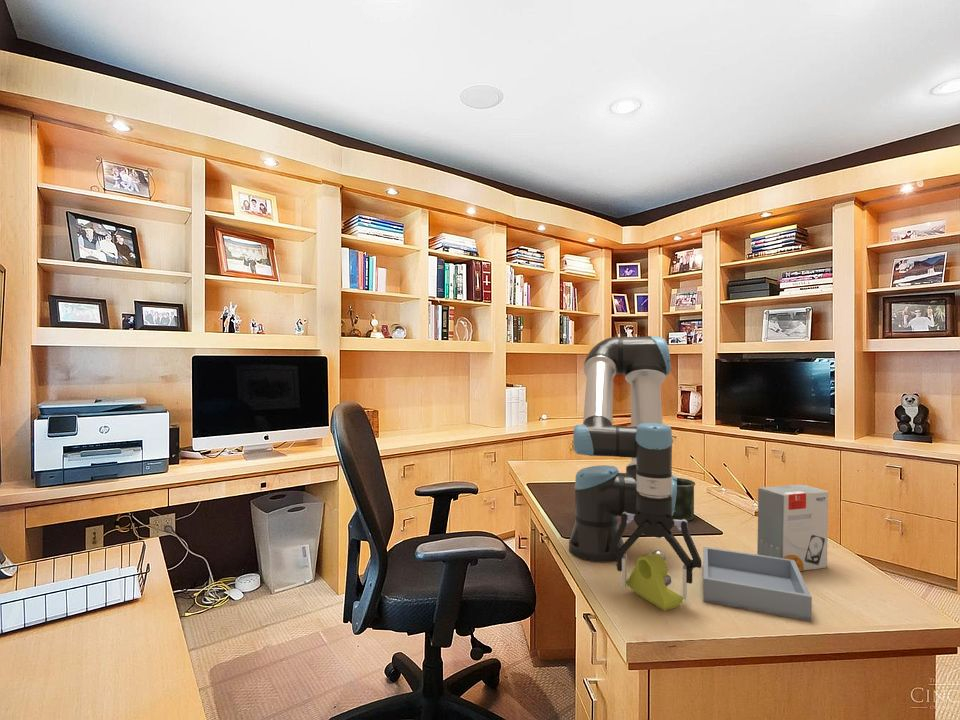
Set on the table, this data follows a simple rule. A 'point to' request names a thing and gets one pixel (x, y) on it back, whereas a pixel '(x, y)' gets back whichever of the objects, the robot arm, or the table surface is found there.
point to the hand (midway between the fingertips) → (653, 591)
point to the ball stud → (667, 579)
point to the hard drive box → (794, 524)
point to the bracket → (653, 582)
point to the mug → (684, 500)
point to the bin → (755, 583)
